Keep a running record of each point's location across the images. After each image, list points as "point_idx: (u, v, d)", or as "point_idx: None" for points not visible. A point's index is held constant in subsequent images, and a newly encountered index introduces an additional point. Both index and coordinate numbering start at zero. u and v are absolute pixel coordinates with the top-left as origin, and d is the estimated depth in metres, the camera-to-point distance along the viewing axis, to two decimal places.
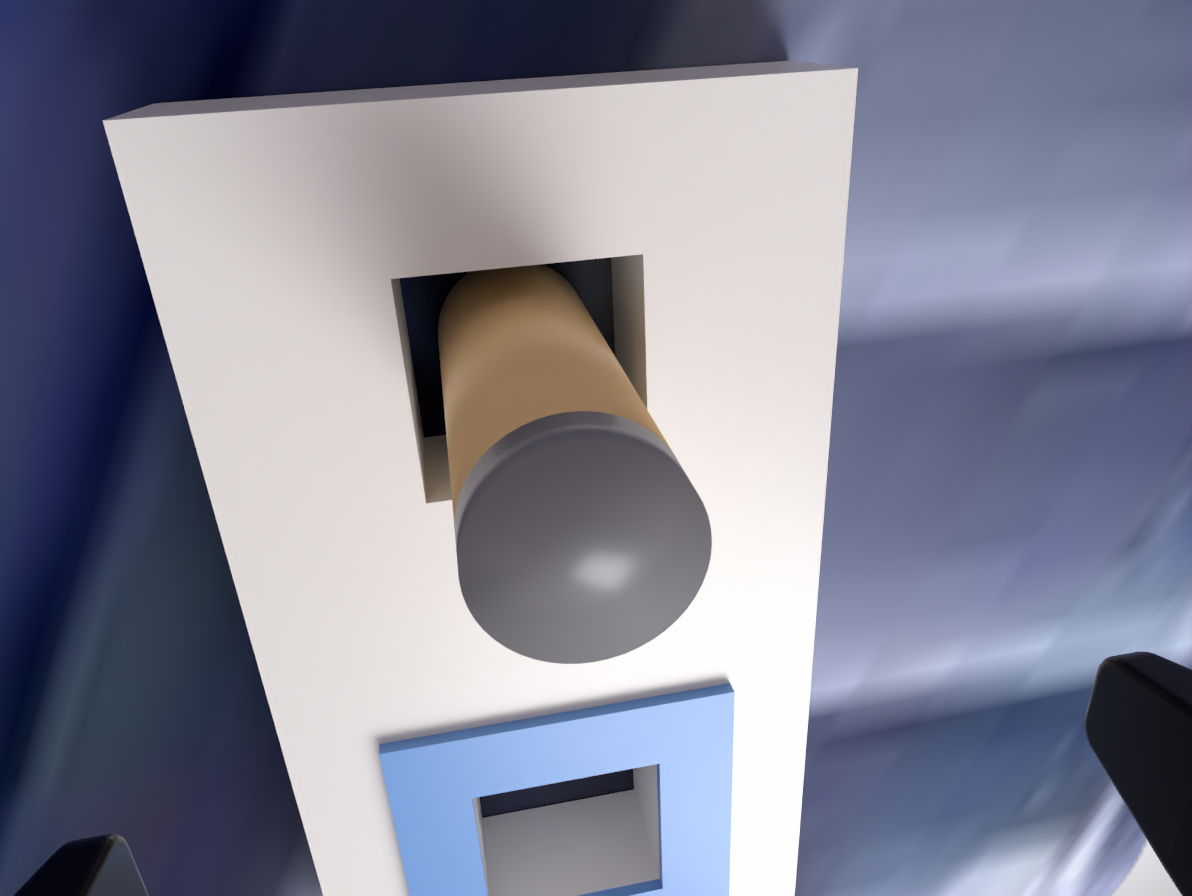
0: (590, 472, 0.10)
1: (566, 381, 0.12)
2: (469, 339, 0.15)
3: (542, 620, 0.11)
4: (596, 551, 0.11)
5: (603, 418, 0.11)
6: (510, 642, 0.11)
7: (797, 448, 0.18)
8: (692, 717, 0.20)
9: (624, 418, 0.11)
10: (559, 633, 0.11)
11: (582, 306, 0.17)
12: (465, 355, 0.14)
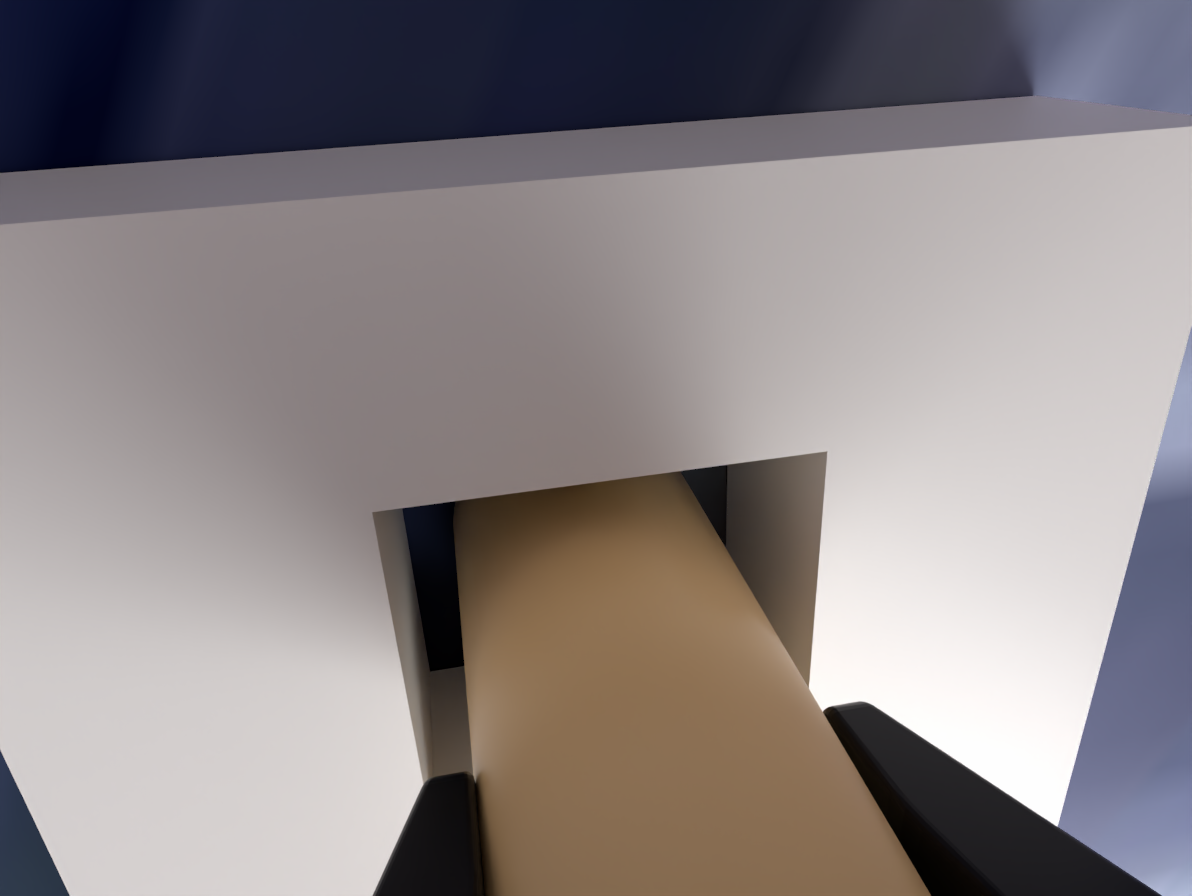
0: None
1: (772, 883, 0.05)
2: (518, 623, 0.08)
3: None
4: None
5: None
6: None
7: (1037, 725, 0.11)
8: None
9: None
10: None
11: (699, 511, 0.10)
12: (514, 674, 0.08)
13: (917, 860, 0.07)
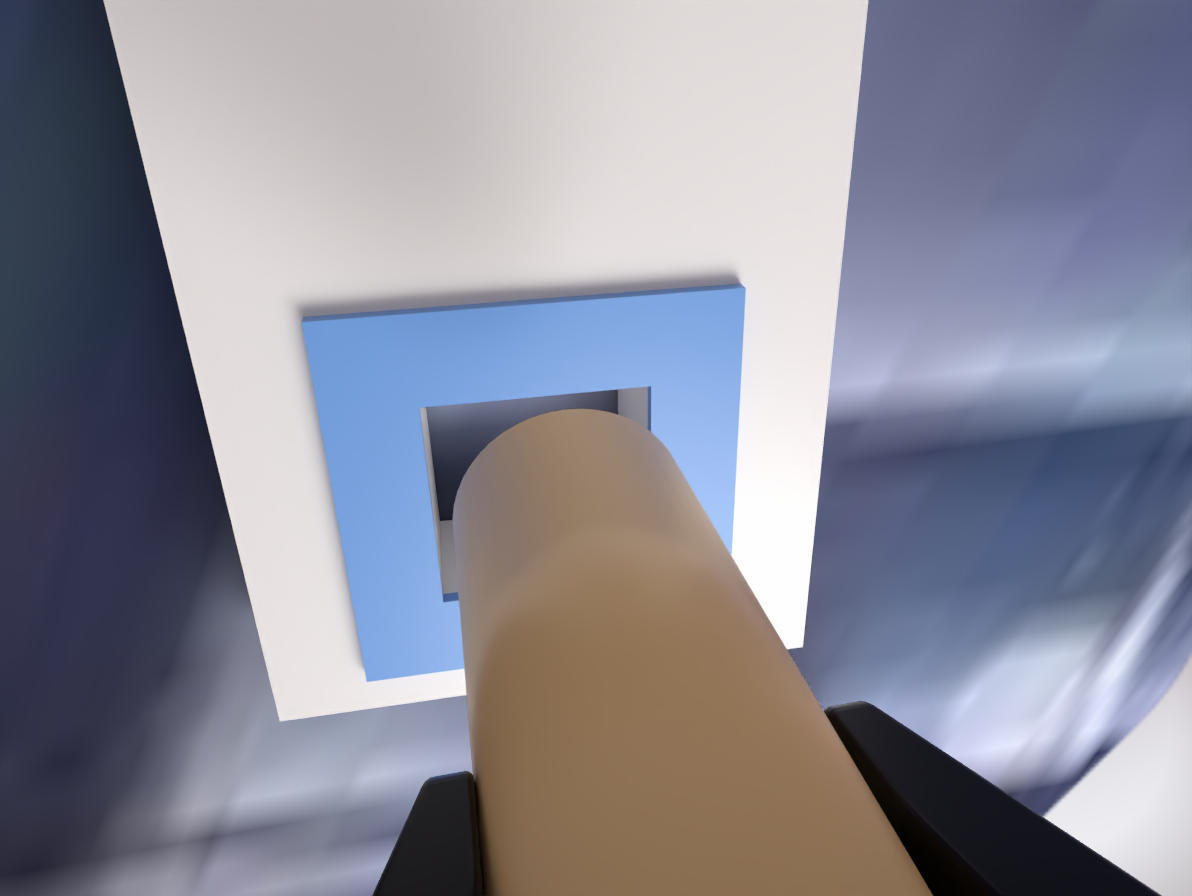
0: None
1: (772, 880, 0.05)
2: (518, 621, 0.08)
3: None
4: None
5: None
6: None
7: None
8: (693, 320, 0.16)
9: None
10: None
11: (699, 509, 0.10)
12: (514, 672, 0.08)
13: (917, 861, 0.07)
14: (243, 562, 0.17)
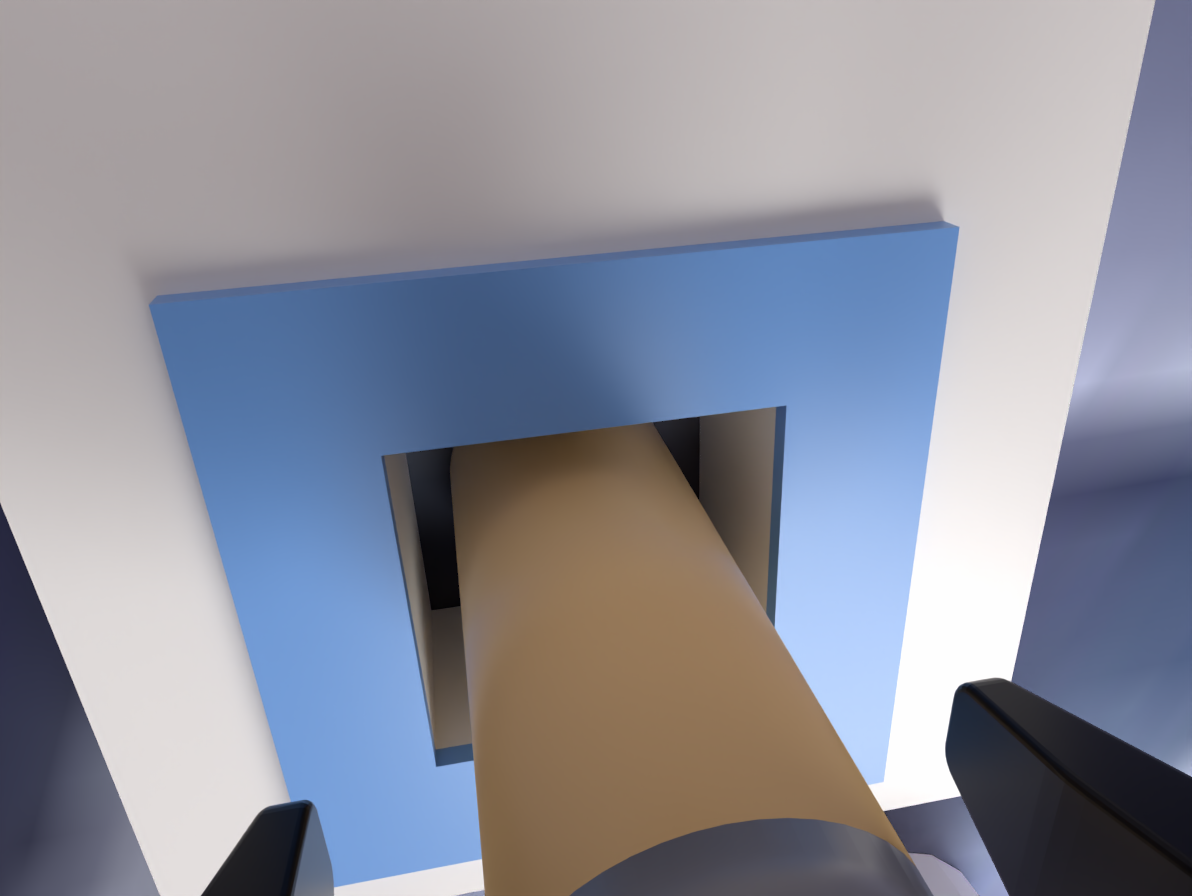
0: None
1: (702, 707, 0.06)
2: (505, 538, 0.09)
3: None
4: None
5: (801, 842, 0.05)
6: None
7: None
8: (865, 287, 0.09)
9: (834, 823, 0.06)
10: None
11: (667, 454, 0.11)
12: (501, 577, 0.09)
13: (1079, 827, 0.07)
14: (95, 717, 0.10)
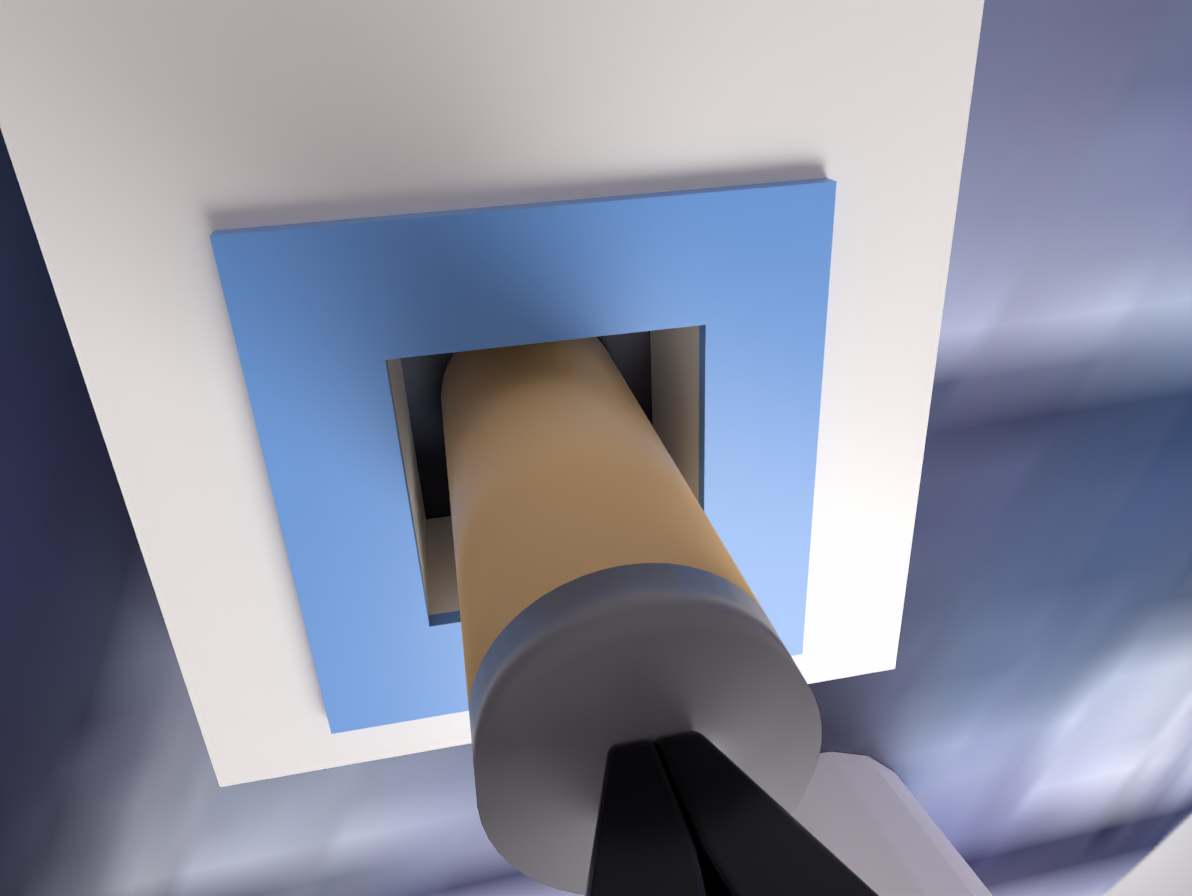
0: (663, 664, 0.07)
1: (617, 508, 0.09)
2: (482, 425, 0.12)
3: (590, 847, 0.08)
4: None
5: (674, 575, 0.08)
6: (546, 877, 0.08)
7: None
8: (763, 229, 0.12)
9: (700, 570, 0.08)
10: None
11: (617, 373, 0.14)
12: (478, 451, 0.11)
13: None
14: (155, 579, 0.13)
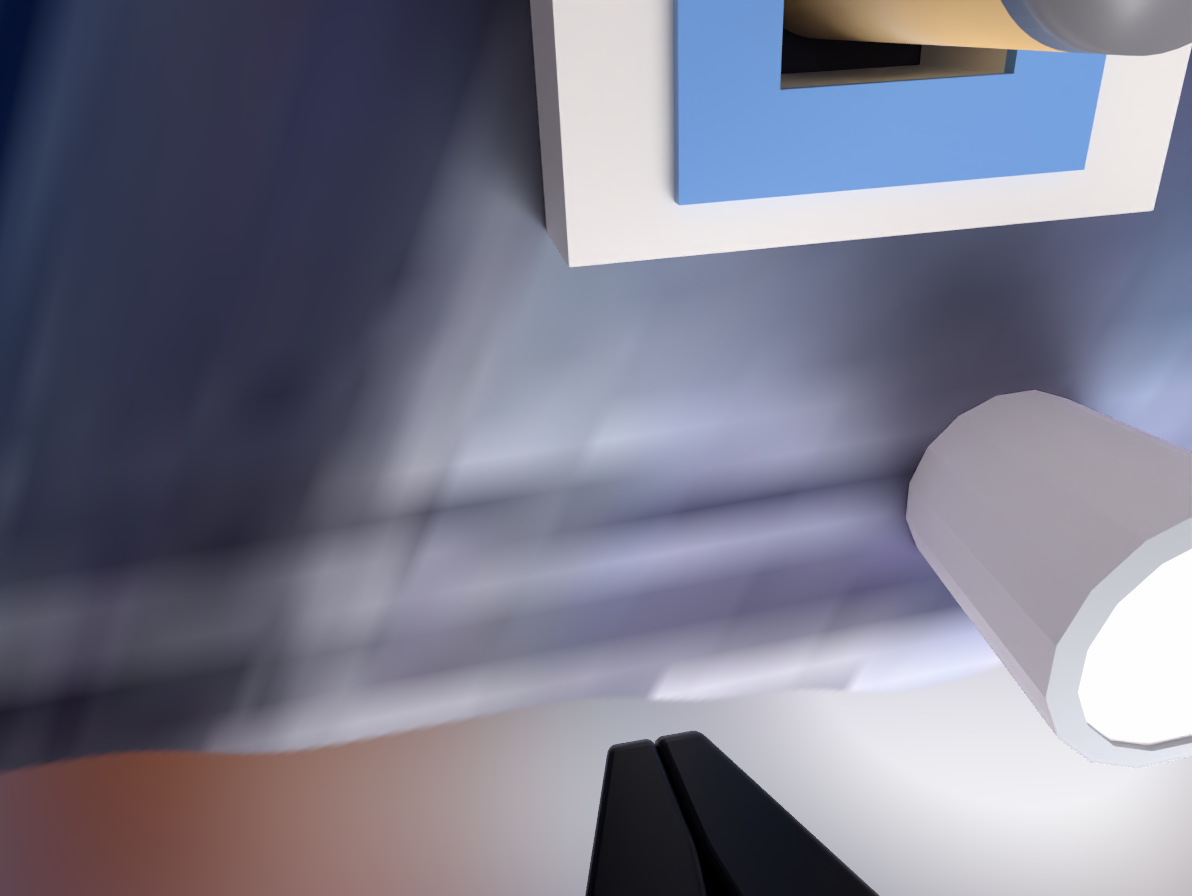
0: None
1: None
2: None
3: None
4: None
5: None
6: (1072, 6, 0.10)
7: None
8: None
9: None
10: (1122, 3, 0.10)
11: None
12: None
13: None
14: (551, 21, 0.14)
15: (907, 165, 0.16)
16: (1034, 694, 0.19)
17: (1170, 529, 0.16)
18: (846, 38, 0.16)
